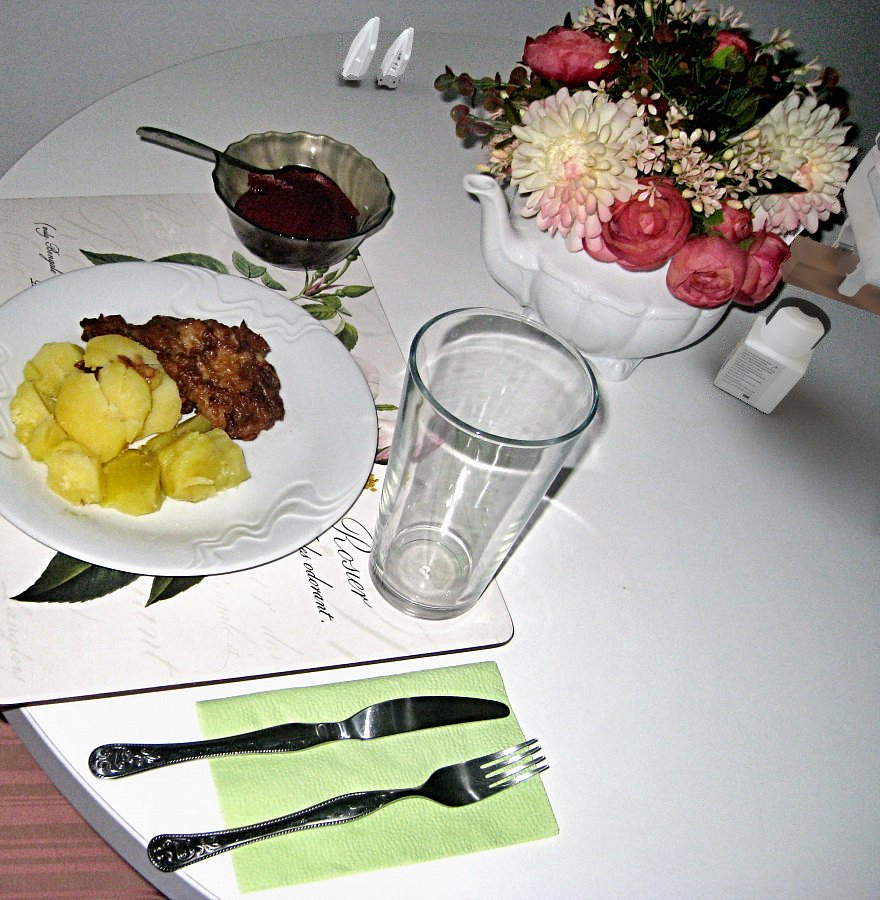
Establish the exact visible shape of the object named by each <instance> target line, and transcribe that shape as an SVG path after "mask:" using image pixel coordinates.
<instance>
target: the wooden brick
mask: <svg viewBox="0 0 880 900" xmlns="http://www.w3.org/2000/svg"><path fill="white" fill-rule="evenodd" d="M797 235H798V236H797V237H796V238H795V240H794V241H792V242H791V247H790V252H791V257H790V258H789V259H788V260H787V261H786V262H785V263H784V265H783V271H782V273H781V279H782V282H783V283H785V284H788V285H791V286H794V287H797V288H800V289H802V290H805V291H808V292H811V293H814V294H816V295H819V296H823V297H825V298H828V299H831V300H834V301H836V302H838V303H839V302H840V303H842V304H846V305H849V306H851V307H854V308H856V309H860V310H863V311H865V312H867V313H870V314H874V315H877V316H880V287H878V286H875V285H872V284H870V283H868V284H866V285H864V286H862V287H861V288H860V289H859V291H858V292H857V293H856V294H855V295H854V296H851V297H849V296H846V295H843V294H840V293H839V290H838V285H837V284H838V282H839V281H840V280H841V279H842V277H843V276H844V275H845V273H847V274H851V273H852V272H854V271H855V270H856V269H857V267H856V266H857V264H858V263H859V262H860V258H859V255H857V254H854V253H848V252H845V251H842V250H839V249H837V248H834V247H831V246H832V245H827V244H825V243H822V242H819V241H817V240H814V239H811V238H807V237H805V236H802V235H799V234H797Z"/></svg>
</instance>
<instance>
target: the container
mask: <svg viewBox="0 0 880 900" xmlns="http://www.w3.org/2000/svg"><path fill="white" fill-rule="evenodd" d="M831 329H832V321H831V319H830V317H829V315H828V314H827V313H826V311H824V310H823V309H822V308H821V307H820V306H819V305H817V304H815V302H812V301H810V300H807V299H805V298H803V297H802V298H801V297H798V296H797V297H796V296H788V297H784V298H782V299H780V301H779V302H778V303H777V304H776V305H775V306H774V308H773V309H772V310H771V312H770V313H769V315H768V316H767V317H766V316H764V315H759V316H757V317H756V319H755V320H754V321H753V323H752V324H751V325H750V326H749V328H748V329H747V330H746V332H745V333H744V334H743V335H742V337H741V338H740V339H739V340H738V342H737V343H736V344H735V346H734V347H733V348H732V350H730V351H729V353H728V355H727V356H726V358H725V360H724V362H723V363H722V365H721V367H720V369H719V371H718V373H717V375H716V377H715V379H714V380H713V385H714V386H715V387H717V388H718V389H721V390H722V391H724V392H726V393H728V394H729V395H732V396H733V397H735V398H737V399H738V398H739V400H740V399H741V400H740V401H742V402H744V403H746V404H747V403H748V404H747V405H749V406H751V407H753V408H755V409H756V408H757V409H756V410H758V411H760V412H761V413H763V412H764V413H763V414H765V413H766V414H765V415H769V414H770V413H772V412H773V410H774V409H775V408H777V406H778V405H779V404H780V403H781V401H783V400H784V398H785V397H786V396H787V395H788V393H789V392H790V391H791V390H792V389H794V387H795V386H796V384H797V383H798V382H799V381H800V380H801V379H802V378H803V377H804V375H805V374H806V372H807V370H808V367H809V364H810V362H811V359H812V357H813V355H814V352H815V349H816V347H817V346H818V345H819V344H820V343H821V341H823V339H824V338H825V337H826V336H827V335H828V333H829V332H830V331H831Z"/></svg>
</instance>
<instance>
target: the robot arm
mask: <svg viewBox="0 0 880 900" xmlns="http://www.w3.org/2000/svg"><path fill="white" fill-rule="evenodd" d="M845 187H846V188H844V190H843V193H842V197H843V201H844V204H845V208H846V212H847V215H848V216H847V218H846V219H845V220H844V222H843V225H842V227H841V229H840V231H839V234H838V236H837V239H836V240H835V241H834V242H833V243H832V245H830V246H831V247H834V248H837V249H839V250H842V251H845V252H848V253H851V254H853V252H854V246H856V250H857V254H858V256H859V258H860V262H859V263H858V264H857V266H856V267H857V269H856V270H855V271H854V272H852V273H851V274H847V273H845V275H844V276H843V277H842V279H841V280H840V281H839V282H838V284H837V285H838V290H839V293H840V294H843V295H846V296H849V297H851V296H854V295H855V294H856V293H857V292H858V291H859V289H860V288H861V287H862V286H864V285H866V284H868V283H870V284H872V285H875V286H878V287H880V131H879V132H878V133H877V135H876V136H875V144H874V145H873V146H872V148H870V150H869V151H868V153H866V155H865V156H864V158H863V159H862V160H861V161H860V163H859V164H858V166H857V168H856V169H855V170H854V171H853V173H852V175H851V176H850V178H849V179H848V181H847V183H846V185H845Z"/></svg>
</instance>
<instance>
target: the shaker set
mask: <svg viewBox="0 0 880 900" xmlns="http://www.w3.org/2000/svg"><path fill="white" fill-rule="evenodd" d="M379 31H380V17H379V16H374V17H372V18H370V19H369V20H368V21H367V22H366V23H365V24H364V26H363V27H362V28H361V29H360V31H359V32H358V33H357V35H356V36H355V37H354V39H353V41H352V42H351V44H350V47H349V50H348V52H347V54H346V57H345V58H344V59H345V60H344V62H343V65H342V67H343V68H344V70H343V72H342V71H341V74H340V76H341V75H343V76H344V77H347V76H348V75H350V74H351V75H354V76H357V77H359V76H361V75H363V74H365V73H366V74H367V72H368V70H369V67H370V65H371V62H372V60H373V57H374V54H375V52H376V50H377V47H378V39H379ZM414 34H415V29H414V27H411V26H410V27H408V28H406V29H404V30H403V31H402V32H401V33H400V34H399V35H398V37H397V38H396V39H395V40H394V41H393V43H392V44H391V45H390V46H389V48H388V49H387V51H386V53H385V56H384V57H383V60H382V61H381V64H380V66H379V69H380V68H381V69H382V73H383V76H386V75H391V76H395V77H397V76H399V75H401V74H403V75H404V73H405V71H406V68H407V66H408V64H409V61H410V59H411V54H412V47H413V43H414ZM397 65H398V66H397ZM392 67H393V68H396V69H393V68H392ZM382 73H381V74H382Z"/></svg>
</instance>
